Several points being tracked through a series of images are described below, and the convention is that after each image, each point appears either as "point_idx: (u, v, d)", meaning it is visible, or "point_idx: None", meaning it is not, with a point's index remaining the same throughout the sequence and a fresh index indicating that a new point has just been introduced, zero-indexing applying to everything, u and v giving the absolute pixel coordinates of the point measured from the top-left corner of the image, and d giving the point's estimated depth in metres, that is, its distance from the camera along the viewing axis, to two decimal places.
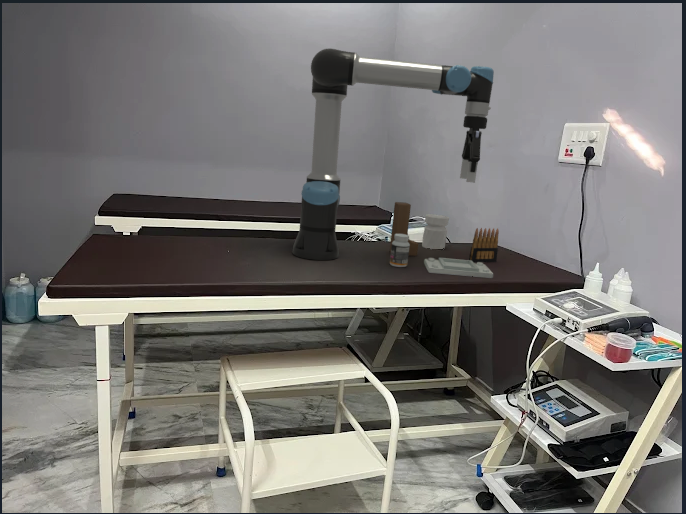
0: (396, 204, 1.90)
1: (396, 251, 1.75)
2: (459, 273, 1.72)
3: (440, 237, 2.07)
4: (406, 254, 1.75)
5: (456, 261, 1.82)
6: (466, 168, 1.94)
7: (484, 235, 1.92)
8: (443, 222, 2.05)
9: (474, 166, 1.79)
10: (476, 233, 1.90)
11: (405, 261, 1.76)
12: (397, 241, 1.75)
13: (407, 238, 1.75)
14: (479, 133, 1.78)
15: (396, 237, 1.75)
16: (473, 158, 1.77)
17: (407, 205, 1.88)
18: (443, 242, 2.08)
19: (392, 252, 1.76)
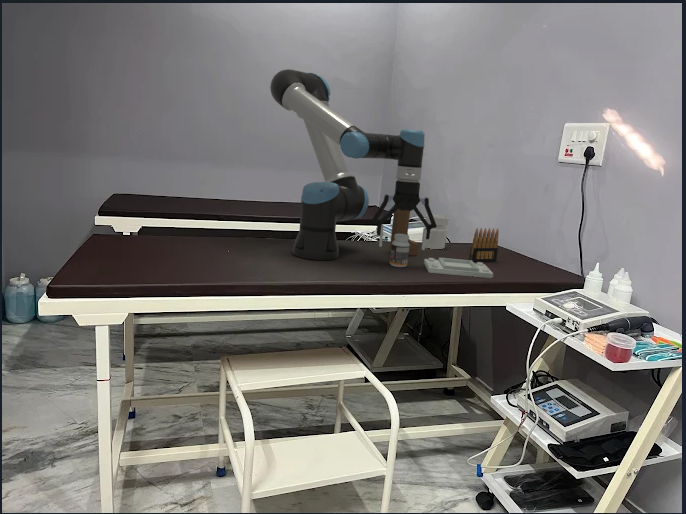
0: None
1: (396, 251, 1.75)
2: (459, 273, 1.72)
3: (440, 237, 2.07)
4: (406, 254, 1.75)
5: (456, 261, 1.82)
6: (423, 238, 1.75)
7: (484, 235, 1.92)
8: (443, 222, 2.05)
9: (377, 229, 1.75)
10: (476, 233, 1.90)
11: (405, 261, 1.76)
12: (397, 241, 1.75)
13: (407, 238, 1.75)
14: (384, 196, 1.73)
15: (396, 237, 1.75)
16: (372, 220, 1.76)
17: None
18: (443, 242, 2.08)
19: (392, 252, 1.76)
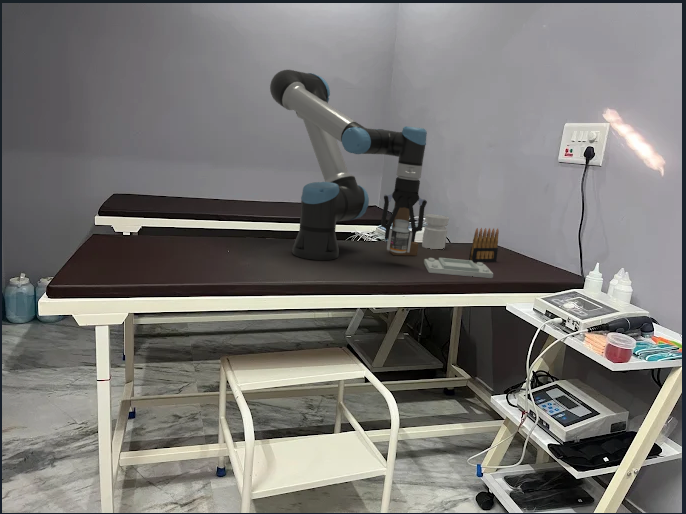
0: None
1: (395, 237, 1.74)
2: (459, 273, 1.72)
3: (440, 237, 2.07)
4: (406, 240, 1.75)
5: (456, 261, 1.82)
6: (408, 240, 1.76)
7: (484, 235, 1.92)
8: (443, 222, 2.05)
9: (385, 232, 1.76)
10: (476, 233, 1.90)
11: (405, 247, 1.75)
12: (397, 227, 1.74)
13: (407, 224, 1.74)
14: (384, 198, 1.73)
15: (396, 223, 1.74)
16: None
17: None
18: (443, 242, 2.08)
19: (392, 238, 1.75)
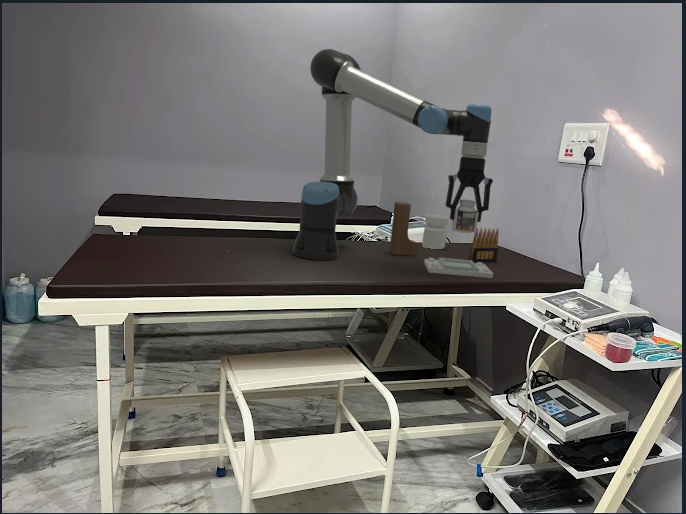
0: (396, 204, 1.90)
1: (462, 216, 1.72)
2: (459, 273, 1.72)
3: (440, 237, 2.07)
4: (472, 220, 1.72)
5: (456, 261, 1.82)
6: (474, 220, 1.74)
7: (484, 235, 1.92)
8: (443, 222, 2.05)
9: (450, 213, 1.74)
10: (476, 233, 1.90)
11: (471, 227, 1.73)
12: (463, 206, 1.72)
13: (474, 203, 1.72)
14: (449, 178, 1.71)
15: (462, 202, 1.72)
16: (445, 204, 1.74)
17: (407, 205, 1.88)
18: (443, 242, 2.08)
19: (458, 218, 1.73)
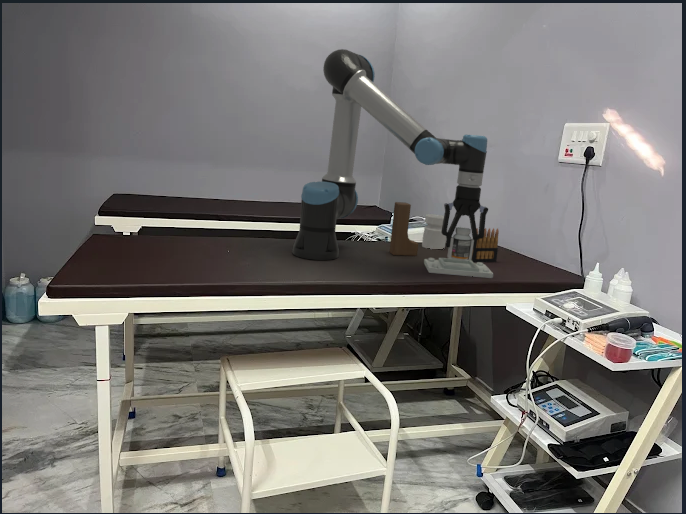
0: (396, 204, 1.90)
1: (458, 244, 1.74)
2: (459, 273, 1.72)
3: (440, 237, 2.07)
4: (468, 248, 1.74)
5: (456, 261, 1.82)
6: None
7: (484, 235, 1.92)
8: None
9: (446, 241, 1.76)
10: None
11: (467, 255, 1.75)
12: (458, 234, 1.74)
13: (469, 231, 1.74)
14: (445, 206, 1.73)
15: (458, 230, 1.74)
16: (441, 232, 1.76)
17: (407, 205, 1.88)
18: (443, 242, 2.08)
19: (454, 246, 1.75)
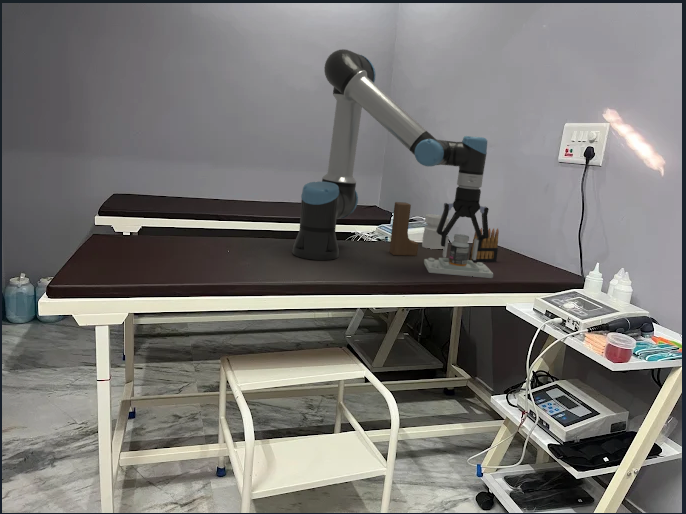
0: (396, 204, 1.90)
1: (456, 252, 1.74)
2: (459, 273, 1.72)
3: (440, 237, 2.07)
4: (466, 255, 1.75)
5: None
6: (474, 248, 1.76)
7: None
8: None
9: (441, 240, 1.76)
10: None
11: (465, 262, 1.75)
12: (457, 242, 1.74)
13: (467, 239, 1.74)
14: (444, 206, 1.73)
15: (456, 238, 1.74)
16: None
17: (407, 205, 1.88)
18: None
19: (452, 253, 1.75)
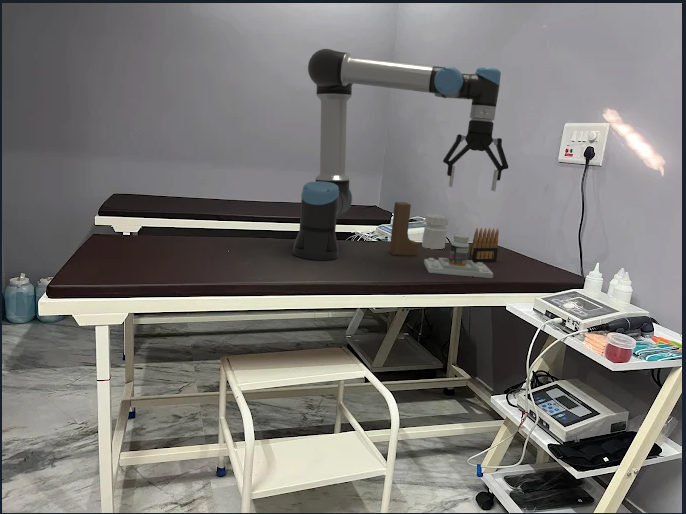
0: (396, 204, 1.90)
1: (456, 251, 1.74)
2: (459, 273, 1.72)
3: (440, 237, 2.07)
4: (466, 255, 1.75)
5: None
6: (493, 179, 1.76)
7: (484, 235, 1.92)
8: (443, 222, 2.05)
9: (448, 169, 1.76)
10: (476, 233, 1.90)
11: (465, 262, 1.75)
12: (457, 242, 1.74)
13: (467, 239, 1.74)
14: (457, 136, 1.73)
15: (456, 238, 1.74)
16: (443, 160, 1.76)
17: (407, 205, 1.88)
18: (443, 242, 2.08)
19: (452, 253, 1.75)
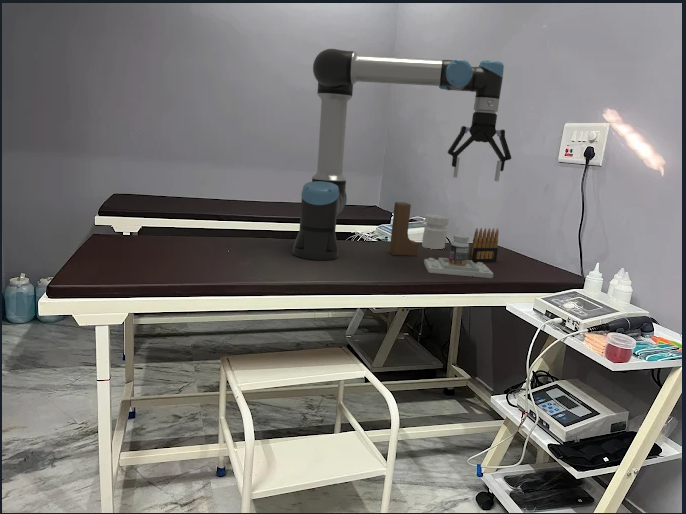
0: (396, 204, 1.90)
1: (455, 251, 1.74)
2: (459, 273, 1.72)
3: (440, 237, 2.07)
4: (466, 255, 1.75)
5: None
6: (497, 170, 1.80)
7: (484, 235, 1.92)
8: (443, 222, 2.05)
9: (452, 160, 1.80)
10: (476, 233, 1.90)
11: (465, 262, 1.75)
12: (456, 242, 1.74)
13: (467, 239, 1.74)
14: (461, 128, 1.77)
15: (456, 238, 1.74)
16: None
17: (407, 205, 1.88)
18: (443, 242, 2.08)
19: (452, 253, 1.75)
